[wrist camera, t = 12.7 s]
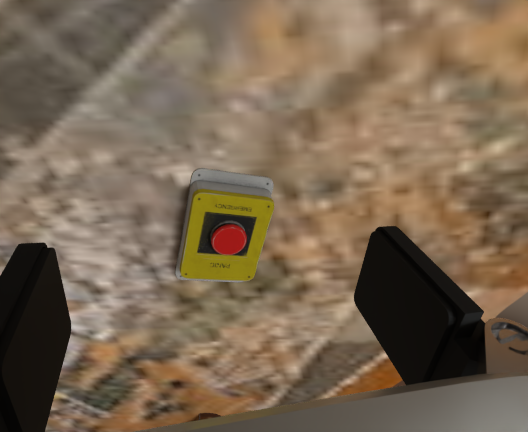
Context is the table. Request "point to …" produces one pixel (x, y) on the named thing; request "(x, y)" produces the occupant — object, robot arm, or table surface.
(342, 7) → the table surface
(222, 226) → the emergency button
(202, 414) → the food container
